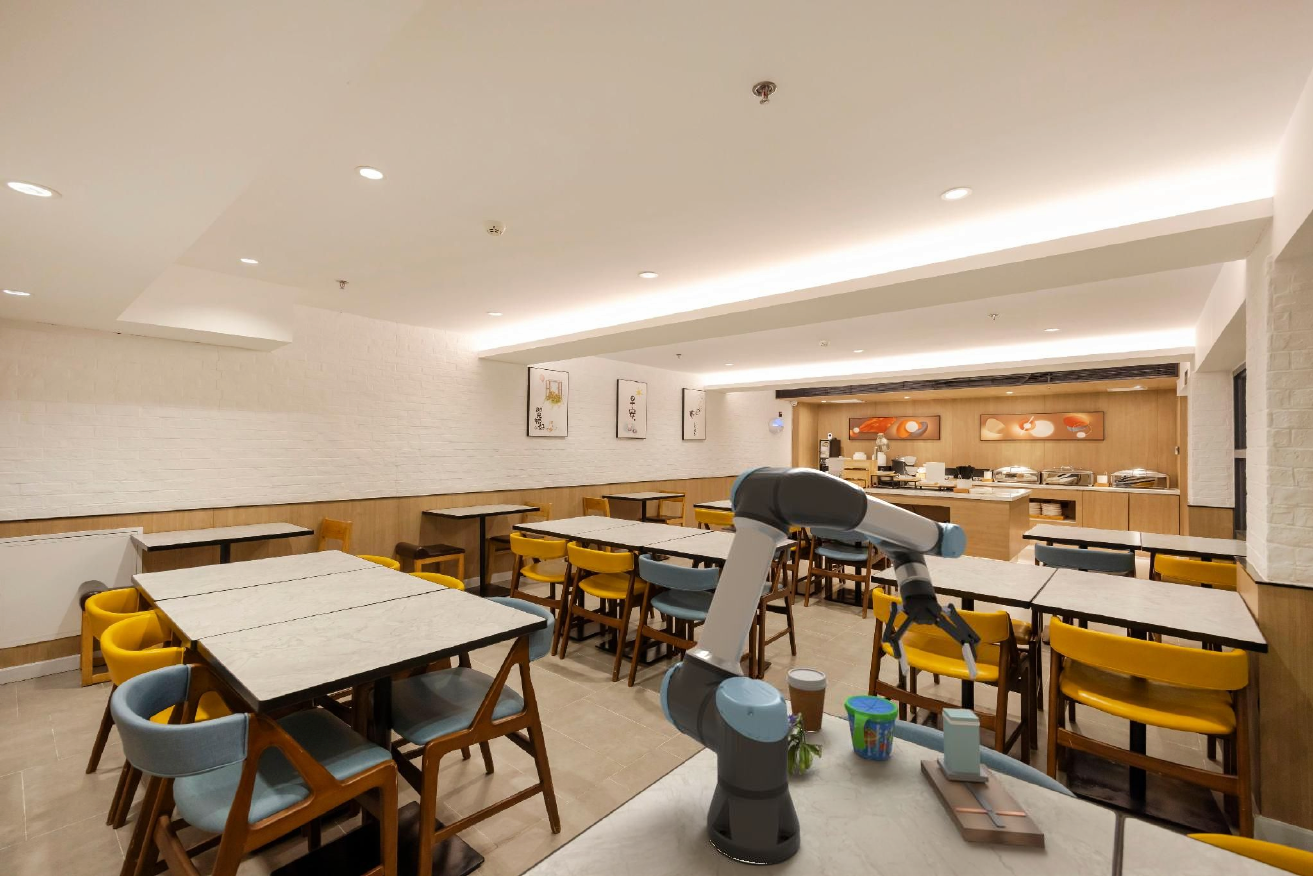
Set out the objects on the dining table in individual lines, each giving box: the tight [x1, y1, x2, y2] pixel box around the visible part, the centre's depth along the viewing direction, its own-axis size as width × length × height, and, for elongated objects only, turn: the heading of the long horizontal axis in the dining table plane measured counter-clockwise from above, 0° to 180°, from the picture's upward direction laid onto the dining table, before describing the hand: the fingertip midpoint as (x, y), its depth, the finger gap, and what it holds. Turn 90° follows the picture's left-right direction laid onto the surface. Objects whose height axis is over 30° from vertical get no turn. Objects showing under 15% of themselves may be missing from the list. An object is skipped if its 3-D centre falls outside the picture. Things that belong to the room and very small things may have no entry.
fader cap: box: [936, 707, 989, 782], centre depth 109 cm, size 7×6×11 cm
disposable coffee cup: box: [785, 667, 829, 732], centre depth 134 cm, size 10×10×12 cm
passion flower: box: [787, 713, 823, 777], centre depth 118 cm, size 11×11×12 cm
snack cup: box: [844, 694, 899, 761], centre depth 122 cm, size 16×10×10 cm
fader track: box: [920, 759, 1046, 848], centre depth 103 cm, size 12×22×2 cm, turn 172°
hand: (940, 674), depth 120 cm, fingers open, 13 cm apart
